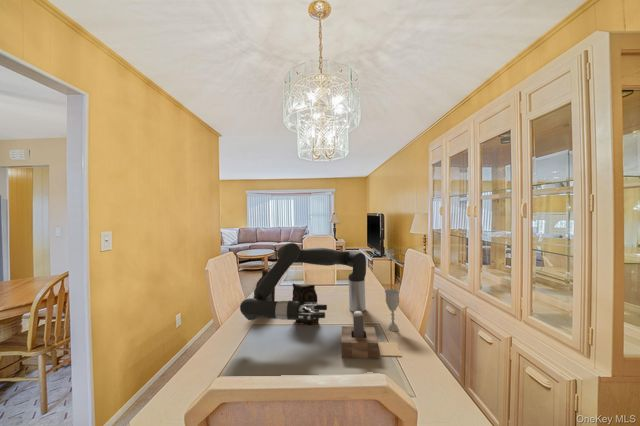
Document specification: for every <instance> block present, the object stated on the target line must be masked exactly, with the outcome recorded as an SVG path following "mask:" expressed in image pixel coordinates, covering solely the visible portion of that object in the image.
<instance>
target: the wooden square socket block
mask: <svg viewBox="0 0 640 426" xmlns="http://www.w3.org/2000/svg"><path fill="white" fill-rule="evenodd" d="M378 342H379V341H378V337H377V332H376V329H375V327H374V326H364V338H354V326H341V343H340V344H341V345H340V346H341V358H342V359H369V360H370V359H371V360H379V347H378Z"/></svg>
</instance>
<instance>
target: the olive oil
mask: <svg viewBox="0 0 640 426" xmlns="http://www.w3.org/2000/svg"><path fill="white" fill-rule="evenodd" d="M261 271H262V272H261V275H262V276H261V277H260V278H259V279H258V281H257V282H256V284H255V288H256V287H257V286H258V284H259V283H260V281H261V280H262V279H263V277H264V276H265V275H266V274H267V273H268V272H269V270H268V268H263V269H262V270H261ZM275 296H276V287H275V288H274V289H273V291H272V292H271V294H270V295H269V297H268V298H267V300H266V301H275V298H276V297H275Z"/></svg>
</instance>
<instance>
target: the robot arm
mask: <svg viewBox="0 0 640 426" xmlns="http://www.w3.org/2000/svg"><path fill="white" fill-rule="evenodd" d="M276 255H277V259H278V260H277V261H276V262H275V264H274V265H273V266H272V267H271V268H270V270H268V273H267V274H266V275H265V276H264V277H263V279H262V280H261V281H260V283H259V284H258V286H257V287H256V286H255V287H254V290H253V297H252V298H246V299H244V300H243V301H241V303H240V306H239V310H240V313H241V314H242V315H243V316H244V318H246V319H247V320H248V321H254V320H257V318H258V317H263V318H265V319H271V320H274V319H275V320H280V321H282V320H283V321H284V320H285V321H296V320H298V319H299V320H309V321H313V319H315V318H319V319H325V318H326V312H325V311H327V309H328V305H327V304H321V303H320V304H319V303H318V301H317V302H304V305H300V302H299V301H292V300H279V301H277V300H276V301H266V300H267V298H268V297H269V295H270V294H271V292H272V291H273V289H274V288H275V289H276V286H277V285H278V283H279V281H281V279H282V278H283V275H284V274H285V273H286V272H287V271H288V270H289V268H290V267H291V266H292V265H293V264H294V263H295V264H296V263H298V264H301V263H302V264H309V265H316V266H329V267H330V266H336V265H343V266H347V267H350V268H352V272H351V273H349V275H348V299H349V300H348V301H349V303H348V305H349V306H348V307H349V310H350V311H351V312H353V313H354V312H355V311H361V312H362V313H363V312H365V311H366V278H365V277H366V275H367V258H366V255H365V253H362V252H359V251H354V250H352V251H351V250H349V251H340V250H336V249H332V248H325V247H310V248H300V246H299V245H298V244H297V243H295V242H289V243H286V244H284V245H282V246H280V247H279V248H278V250H277V252H276ZM314 306H315V307H314ZM315 310H319V312H316V313H315V312H314V311H315ZM246 319H245V320H246Z"/></svg>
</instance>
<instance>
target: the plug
mask: <svg viewBox="0 0 640 426" xmlns="http://www.w3.org/2000/svg"><path fill="white" fill-rule="evenodd" d="M352 318H353V319H352V321H353V327H354V338H364V327H365V326H364V324H365V322H364V313H363V312H361V311H355V312H353V314H352Z"/></svg>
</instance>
